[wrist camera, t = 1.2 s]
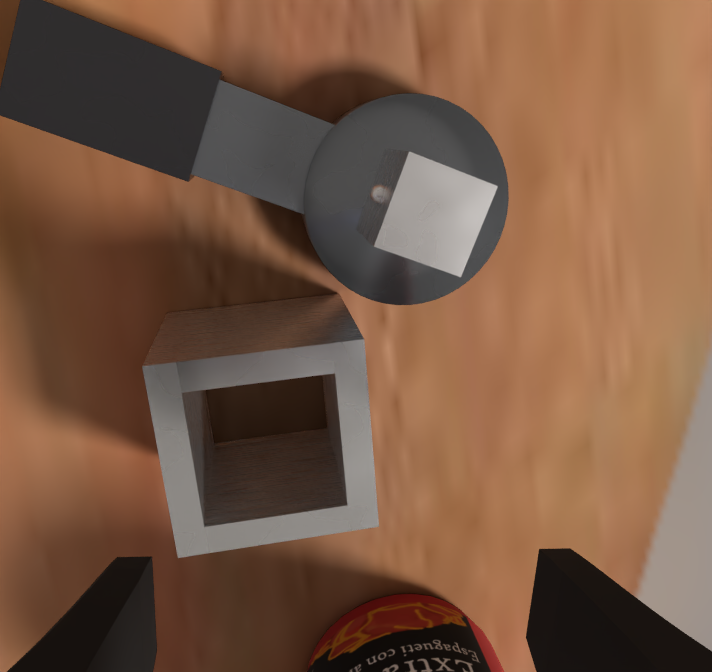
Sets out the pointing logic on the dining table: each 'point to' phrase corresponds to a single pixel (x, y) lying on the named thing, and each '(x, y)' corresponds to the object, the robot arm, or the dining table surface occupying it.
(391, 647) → the canned food
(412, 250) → the ratchet
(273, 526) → the socket
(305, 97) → the dining table surface
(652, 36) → the dining table surface
